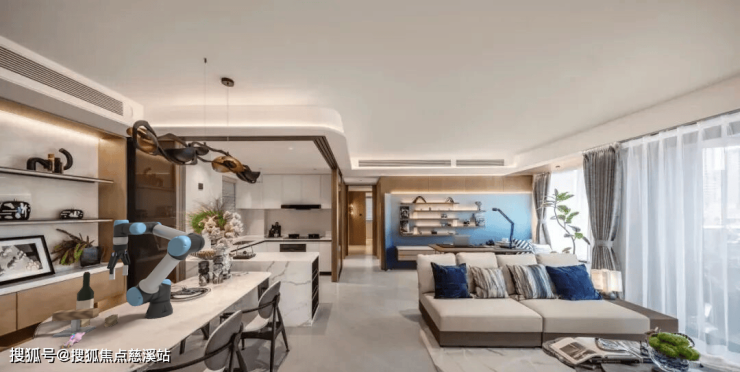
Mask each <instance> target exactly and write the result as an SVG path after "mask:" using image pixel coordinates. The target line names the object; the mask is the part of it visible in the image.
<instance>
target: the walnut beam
mask: <svg viewBox="0 0 740 372" xmlns="http://www.w3.org/2000/svg"><path fill="white" fill-rule="evenodd" d="M99 316H100V307H93V308H89V309H76V308H75V309H62V310H60V309H59V310H57V311H55V312H52V314H51V322H63V321H64V322H65V321H71V320H79V319H90V320H91V319H92V320H93V319H96V318H98V317H99Z"/></svg>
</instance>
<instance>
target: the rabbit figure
mask: <svg viewBox="0 0 740 372" xmlns="http://www.w3.org/2000/svg"><path fill="white" fill-rule="evenodd" d="M85 334H86V333H85V332H83V333H76V334H75V335H74V334H72V335H71V336H69V340H68V341H65V342H63V345H61V348H60V349H62V350H63V349H64V348H67V349H69V348H72V347H73V346H74V344H77V343H79V342H80V341H82V338H83V336H85Z"/></svg>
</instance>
